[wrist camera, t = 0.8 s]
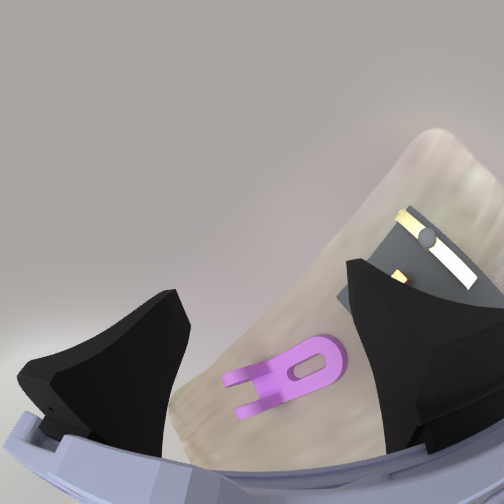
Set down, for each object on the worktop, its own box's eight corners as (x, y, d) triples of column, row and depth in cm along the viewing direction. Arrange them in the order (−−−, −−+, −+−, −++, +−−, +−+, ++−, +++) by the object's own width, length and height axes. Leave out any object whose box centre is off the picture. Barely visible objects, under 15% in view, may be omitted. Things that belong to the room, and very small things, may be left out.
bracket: (271, 405, 32) (231, 421, 27) (255, 368, 34) (215, 378, 29) (356, 371, 25) (324, 391, 20) (334, 325, 28) (298, 334, 23)
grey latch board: (521, 319, 14) (531, 324, 11) (431, 409, 18) (425, 426, 16) (410, 206, 23) (402, 194, 20) (337, 296, 28) (320, 297, 25)
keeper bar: (476, 278, 17) (477, 277, 16) (467, 288, 17) (468, 288, 16) (405, 212, 22) (402, 208, 21) (398, 222, 22) (394, 218, 21)
